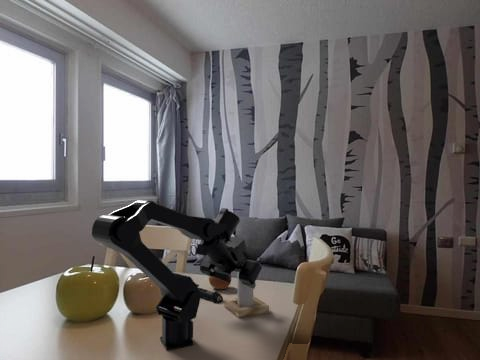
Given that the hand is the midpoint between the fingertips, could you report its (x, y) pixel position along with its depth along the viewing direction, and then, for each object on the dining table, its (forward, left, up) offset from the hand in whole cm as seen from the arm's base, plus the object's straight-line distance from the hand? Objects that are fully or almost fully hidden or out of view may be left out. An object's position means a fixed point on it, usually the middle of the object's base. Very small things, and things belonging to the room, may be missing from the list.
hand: (241, 284), depth 106 cm
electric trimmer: (-6, +17, -9) cm, 20 cm away
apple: (+3, +23, -8) cm, 25 cm away
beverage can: (+2, +1, -8) cm, 8 cm away
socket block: (+2, +1, -8) cm, 8 cm away
